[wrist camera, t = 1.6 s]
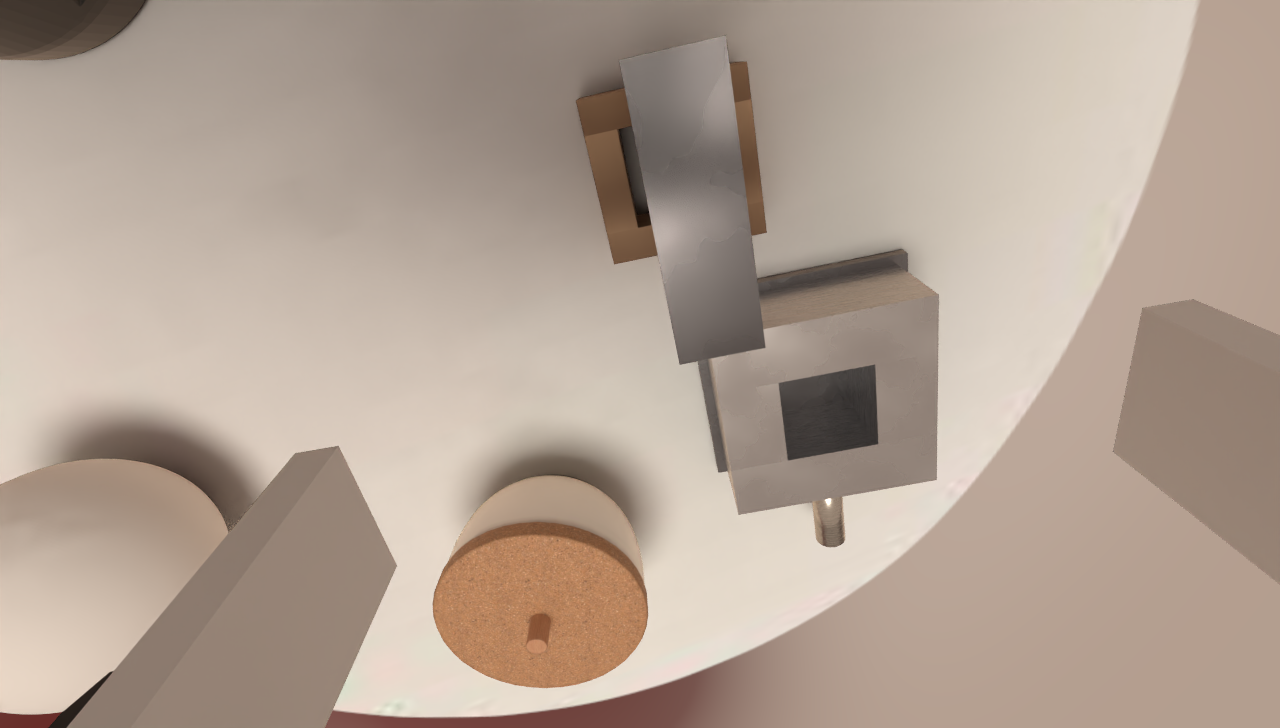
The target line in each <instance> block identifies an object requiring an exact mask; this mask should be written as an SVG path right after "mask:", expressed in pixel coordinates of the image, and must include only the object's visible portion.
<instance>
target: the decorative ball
mask: <svg viewBox="0 0 1280 728" xmlns="http://www.w3.org/2000/svg"><path fill="white" fill-rule="evenodd" d="M228 533H229V532H228V529H227V526H226V524H225V521H224V519H223V517H222V515H221V513H220V512H219V510H218V509H217V507H216V506H215V504H214V503H213V502H212V501H211V499H210V498H209V497H208V496H207V495H206V494H205V493H204V492H203V491H202V490H201V489H199V488H198V487H197V486H196V485H194V484H193V483H191V482H190V481H189V480H187V479H185V478H184V477H182V476H180V475H178V474H176V473H174V472H172V471H169V470H167V469H164V468H161V467H158V466H155V465H152V464H148V463H143V462H138V461H132V460H124V459H87V460H78V461H71V462H66V463H61V464H56V465H52V466H48V467H45V468H42V469H38V470H35V471H32V472H30V473H27V474H24V475H22V476H19V477H17V478H15V479H12V480H10V481H7V482H5V483H3V484H0V712H4V713H13V714H48V713H56V712H63V711H64V710H66V709H67V708H68V707H69V706H70V705H71V704H73V703H74V702H75V701H76V700H77V699H79V698H80V697H81V696H82V695H83V694H84V693H86V692H87V691H88V690H89V689H90V688H91V687H93V686H94V685H95V684H96V683H97V682H99V681H100V680H101V679H102V678H103V677H104V676H106V675H107V674H108V673H109V672H112V671H114V670H115V669H116V668H117V667H118V665H119V664H120V663H121V662H122V661H123V659H124V658H125V657H126V656H127V655H128V653H129V652H130V651H131V650H132V649H133V647H134V646H135V645H136V644H137V643H138V641H139V640H140V639H141V638H142V637H143V635H144V634H145V633H146V632H147V631H148V629H149V628H150V627H151V626H152V625H153V623H154V622H155V621H156V620H157V619H158V617H159V616H160V615H161V614H162V613H163V611H164V610H165V609H166V608H167V607H168V605H169V604H170V603H171V602H172V601H173V599H174V598H175V597H176V596H177V595H178V593H179V592H180V591H181V590H182V589H183V587H184V586H185V585H186V584H187V583H188V581H189V580H190V579H191V578H192V577H193V575H194V574H195V573H196V572H197V571H198V569H199V568H200V567H201V566H202V565H203V563H204V562H205V561H206V560H207V559H208V557H209V556H210V555H211V554H212V553H213V551H214V550H215V549H216V548H217V547H218V545H219V544H220V543H221V542H222V541H223V539H224V538H225V537H226V536H227V535H228Z"/></svg>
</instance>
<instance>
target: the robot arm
mask: <svg viewBox="0 0 1280 728" xmlns="http://www.w3.org/2000/svg"><path fill="white" fill-rule="evenodd" d="M144 1H145V0H0V60H49V59H58V58H63V57H68V56H73V55H76V54H79V53H83V52H85V51H88V50H90V49H93V48H95V47H97V46H99V45H100V44H102V43H104V42H106V41H107V40H109V39H110V38H112V37H113V36H114V35H116V34H117V33H118V32H119V31H120V30H122V29H123V28H124V27H125V26H126V25H127V24H128V23H129V22H130V21H131V19H132V18H133V17H134V16H135V15H136V13H137V12H138V11H139V9H140V8H141V6H142V5H143V3H144ZM1113 452H1114V453H1115V454H1116V455H1118V456H1119V457H1120V458H1121V459H1123V460H1124V461H1125V462H1126V463H1128V464H1129V465H1130V466H1131V467H1133V468H1134V469H1135V470H1136V471H1138V472H1139V473H1140V474H1141V475H1143V476H1144V477H1145V478H1146V479H1148V480H1149V481H1150V482H1151V483H1153V484H1154V485H1155V486H1157V487H1158V488H1159V489H1160V490H1161V491H1163V492H1164V493H1165V494H1167V495H1168V496H1169V497H1170V498H1172V499H1173V500H1174V501H1175V502H1177V503H1178V504H1179V505H1180V506H1182V507H1183V508H1184V509H1185V510H1187V511H1188V512H1189V513H1190V514H1192V515H1193V516H1194V517H1195V518H1197V519H1198V520H1199V521H1200V522H1202V523H1203V524H1204V525H1205V526H1207V527H1208V528H1209V529H1211V530H1212V531H1213V532H1215V533H1216V534H1217V535H1218V536H1219V537H1221V538H1222V539H1223V540H1225V541H1226V542H1227V543H1228V544H1230V545H1231V546H1232V547H1233V548H1234V549H1236V550H1237V551H1238V552H1239V553H1241V554H1242V555H1243V556H1244V557H1246V558H1247V559H1248V560H1250V561H1251V562H1252V563H1253V564H1255V565H1256V566H1257V567H1258V568H1260V569H1261V570H1262V571H1263V572H1265V573H1266V574H1267V575H1269V576H1270V577H1271V578H1272V579H1273V580H1275V581H1276V582H1277V583H1279V584H1280V335H1278V334H1275V333H1273V332H1271V331H1268V330H1266V329H1263V328H1261V327H1258V326H1256V325H1254V324H1251V323H1249V322H1247V321H1244V320H1242V319H1239V318H1237V317H1235V316H1232V315H1230V314H1227V313H1225V312H1222V311H1220V310H1218V309H1215V308H1213V307H1210V306H1208V305H1206V304H1203V303H1201V302H1198V301H1196V300H1194V299H1192V300H1186V301H1181V302H1174V303H1169V304H1163V305H1157V306H1151V307H1145V308H1142V313H1141V317H1140V322H1139V328H1138V332H1137V337H1136V342H1135V347H1134V351H1133V356H1132V361H1131V366H1130V371H1129V376H1128V381H1127V386H1126V391H1125V396H1124V400H1123V405H1122V410H1121V415H1120V420H1119V424H1118V429H1117V434H1116V439H1115V444H1114V449H1113ZM396 567H397V565H396V563H395V561H394V559H393V557H392V555H391V553H390V551H389V548H388V546H387V544H386V542H385V540H384V538H383V536H382V534H381V532H380V530H379V528H378V526H377V524H376V522H375V520H374V518H373V516H372V514H371V512H370V510H369V507H368V505H367V503H366V501H365V499H364V497H363V495H362V493H361V491H360V489H359V487H358V485H357V483H356V481H355V479H354V477H353V475H352V473H351V471H350V468H349V466H348V464H347V462H346V460H345V458H344V456H343V454H342V452H341V450H340V448H339V446H335V447H329V448H324V449H318V450H312V451H306V452H300V453H295V454H294V455H293V457H292V458H291V459H290V460H289V461H288V463H287V464H286V465H285V466H284V467H283V469H282V470H281V471H280V472H279V473H278V475H277V476H276V477H275V478H274V479H273V481H272V482H271V483H270V484H269V485H268V487H267V488H266V489H265V490H264V491H263V493H262V494H261V495H260V496H259V497H258V499H257V500H256V501H255V502H254V503H253V505H252V506H251V507H250V508H249V509H248V511H247V512H246V513H245V514H244V515H243V517H242V518H241V519H240V520H239V521H238V523H237V524H236V525H235V526H234V527H233V529H232V530H231V531H230V532H229V533H228V535H227V536H226V537H225V538H224V539H223V541H222V542H221V543H220V544H219V545H218V547H217V548H216V549H215V550H214V551H213V553H212V554H211V555H210V556H209V557H208V559H207V560H206V561H205V562H204V563H203V565H202V566H201V567H200V568H199V569H198V571H197V572H196V573H195V574H194V575H193V577H192V578H191V579H190V580H189V581H188V583H187V584H186V585H185V586H184V587H183V589H182V590H181V591H180V592H179V593H178V595H177V596H176V597H175V598H174V599H173V601H172V602H171V603H170V604H169V605H168V607H167V608H166V609H165V610H164V611H163V613H162V614H161V615H160V616H159V617H158V619H157V620H156V621H155V622H154V623H153V625H152V626H151V627H150V628H149V629H148V631H147V632H146V633H145V634H144V635H143V637H142V638H141V639H140V640H139V641H138V643H137V644H136V645H135V646H134V647H133V649H132V650H131V651H130V652H129V653H128V655H127V656H126V657H125V658H124V659H123V661H122V662H121V663H120V664H119V665H118V667H117V668H116V669H115V670H114V671H112V672H109V673H108V674H107V675H106V676H104V677H103V678H102V679H101V680H100V681H99V682H97V683H96V684H95V685H94V686H93V687H91V688H90V689H89V690H88V691H87V692H86V693H84V694H83V695H82V696H81V697H80V698H79V699H77V700H76V701H75V702H74V703H73V704H71V705H70V706H69V707H68V708H67V709H66V710H64V711H63V712H62V713H61V714H60V715H59V716H58V717H57V719H56V720H55V721H54V722H53V723H52V724H51V725H50V727H49V728H325V726H326V724H327V721H328V719H329V717H330V715H331V712H332V710H333V708H334V706H335V703H336V701H337V699H338V697H339V694H340V692H341V690H342V688H343V685H344V683H345V681H346V679H347V677H348V674H349V672H350V670H351V668H352V665H353V663H354V661H355V659H356V656H357V654H358V652H359V650H360V647H361V645H362V643H363V641H364V638H365V636H366V634H367V632H368V629H369V627H370V625H371V623H372V620H373V618H374V616H375V614H376V611H377V609H378V607H379V605H380V603H381V600H382V598H383V596H384V594H385V591H386V589H387V587H388V585H389V582H390V580H391V578H392V576H393V573H394V571H395V569H396Z"/></svg>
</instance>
